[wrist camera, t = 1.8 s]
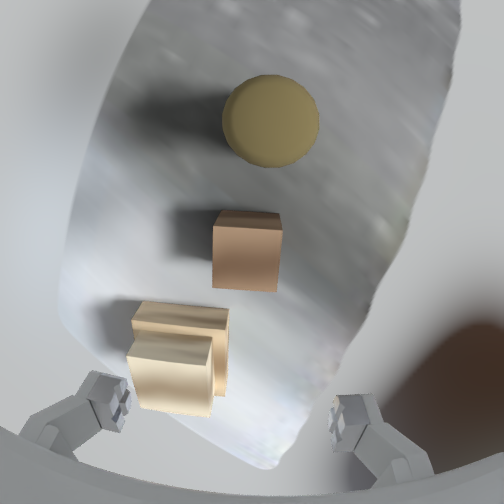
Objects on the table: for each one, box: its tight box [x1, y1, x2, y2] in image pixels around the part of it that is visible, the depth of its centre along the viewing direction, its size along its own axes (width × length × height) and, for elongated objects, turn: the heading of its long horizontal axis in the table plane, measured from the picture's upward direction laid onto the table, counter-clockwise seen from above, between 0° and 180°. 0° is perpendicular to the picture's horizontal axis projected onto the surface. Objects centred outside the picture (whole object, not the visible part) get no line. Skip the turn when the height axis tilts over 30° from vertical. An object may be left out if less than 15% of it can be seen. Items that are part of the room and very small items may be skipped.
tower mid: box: [126, 330, 215, 418], centre depth 27 cm, size 7×7×4 cm
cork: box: [222, 75, 319, 168], centre depth 19 cm, size 6×6×11 cm
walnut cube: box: [212, 210, 283, 292], centre depth 26 cm, size 5×5×5 cm
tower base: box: [131, 301, 229, 397], centre depth 31 cm, size 9×9×4 cm
